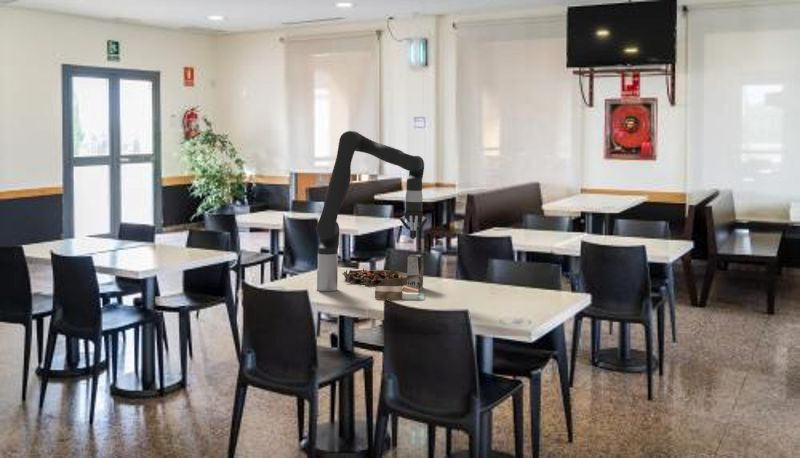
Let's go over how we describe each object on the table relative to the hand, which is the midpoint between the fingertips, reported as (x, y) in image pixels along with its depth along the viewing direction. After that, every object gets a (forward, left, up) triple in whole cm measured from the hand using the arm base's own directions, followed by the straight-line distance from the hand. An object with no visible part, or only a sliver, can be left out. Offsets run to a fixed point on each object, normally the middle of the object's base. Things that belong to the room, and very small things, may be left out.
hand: (413, 238), depth 376 cm
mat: (+1, -3, -26) cm, 26 cm away
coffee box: (+1, +16, -26) cm, 31 cm away
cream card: (-1, -7, -26) cm, 27 cm away
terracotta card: (-1, +1, -25) cm, 25 cm away
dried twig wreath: (-17, +35, -27) cm, 47 cm away
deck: (-11, -3, -26) cm, 28 cm away
